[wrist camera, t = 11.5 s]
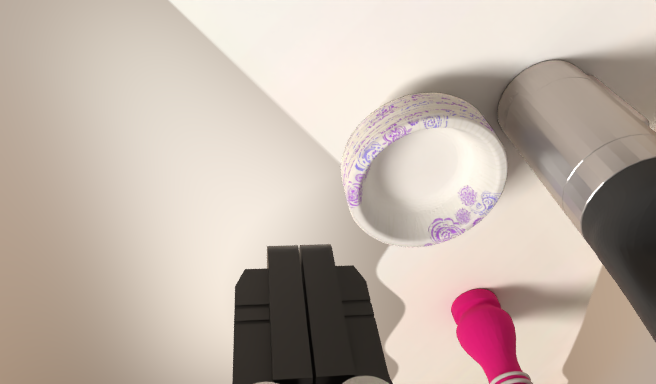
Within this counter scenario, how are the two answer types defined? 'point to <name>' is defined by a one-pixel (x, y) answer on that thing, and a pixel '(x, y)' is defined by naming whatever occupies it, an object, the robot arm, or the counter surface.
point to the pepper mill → (488, 336)
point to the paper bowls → (422, 170)
